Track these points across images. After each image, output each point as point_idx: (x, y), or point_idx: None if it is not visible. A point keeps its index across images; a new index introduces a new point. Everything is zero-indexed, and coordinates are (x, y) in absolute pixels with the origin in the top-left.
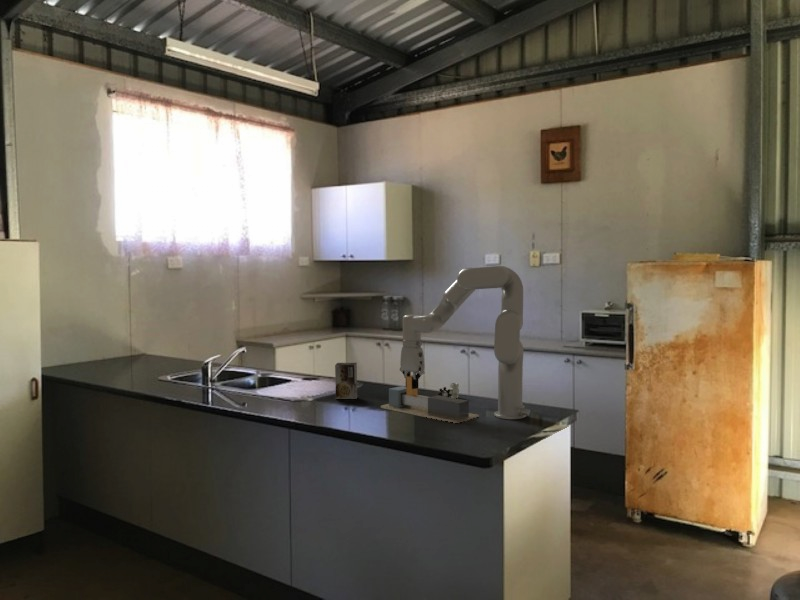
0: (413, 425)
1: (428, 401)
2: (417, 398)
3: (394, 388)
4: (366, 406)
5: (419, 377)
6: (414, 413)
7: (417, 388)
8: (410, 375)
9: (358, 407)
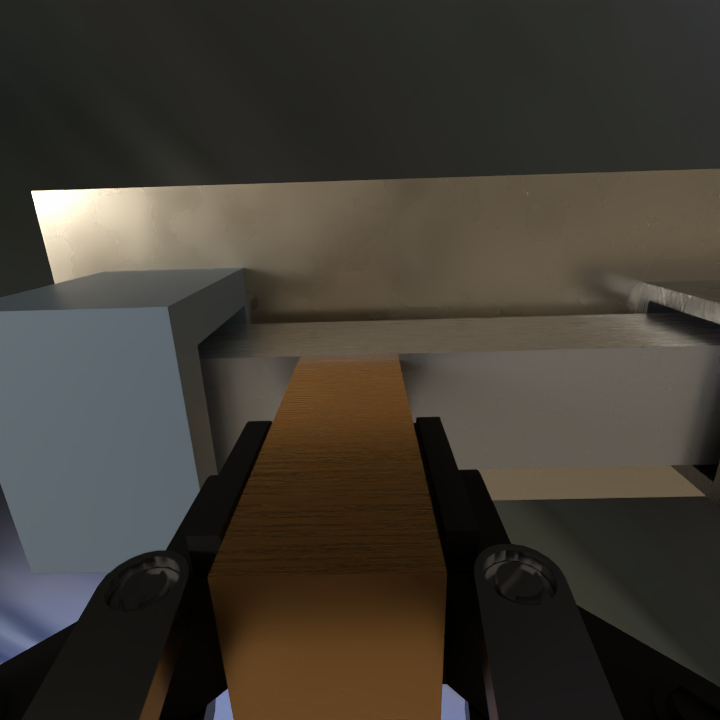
0: (686, 667)
1: (698, 481)
2: (499, 462)
3: (60, 518)
4: (4, 529)
5: (589, 614)
6: (519, 493)
7: (406, 399)
8: (180, 603)
9: (2, 584)
